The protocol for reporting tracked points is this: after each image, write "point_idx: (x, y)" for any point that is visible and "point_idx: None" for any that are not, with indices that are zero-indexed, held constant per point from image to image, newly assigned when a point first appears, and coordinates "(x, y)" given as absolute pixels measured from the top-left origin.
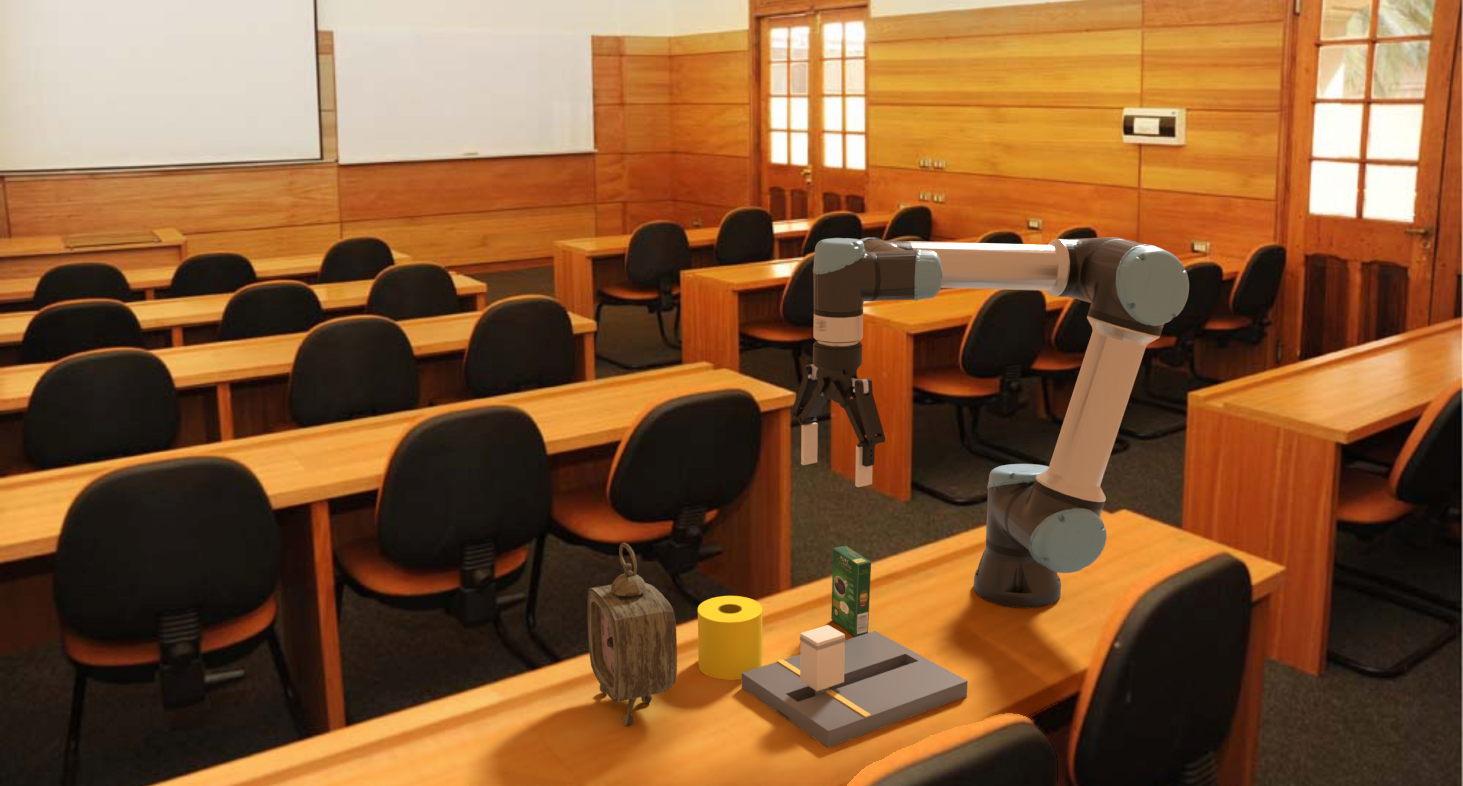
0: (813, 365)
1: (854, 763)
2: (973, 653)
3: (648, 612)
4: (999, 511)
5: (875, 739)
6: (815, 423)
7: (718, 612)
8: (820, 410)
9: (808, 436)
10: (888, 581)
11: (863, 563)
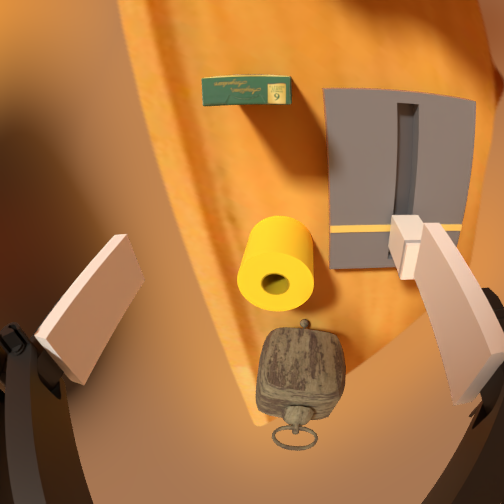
0: None
1: (470, 252)
2: (398, 13)
3: (334, 405)
4: None
5: (463, 220)
6: (47, 344)
7: (277, 296)
8: (31, 406)
9: (93, 336)
10: None
11: (289, 92)
